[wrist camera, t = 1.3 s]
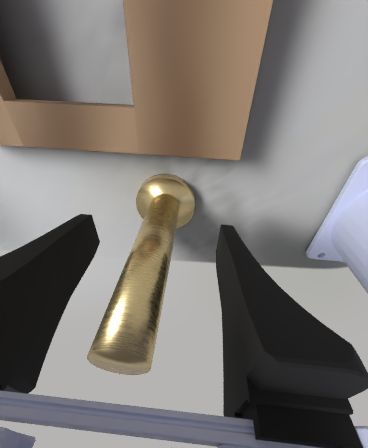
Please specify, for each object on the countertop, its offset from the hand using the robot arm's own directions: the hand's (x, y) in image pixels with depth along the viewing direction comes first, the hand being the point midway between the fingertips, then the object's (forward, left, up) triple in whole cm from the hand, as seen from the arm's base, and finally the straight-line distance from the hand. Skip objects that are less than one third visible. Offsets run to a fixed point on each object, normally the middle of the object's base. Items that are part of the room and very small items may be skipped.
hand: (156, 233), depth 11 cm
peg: (0, 0, -4) cm, 4 cm away
